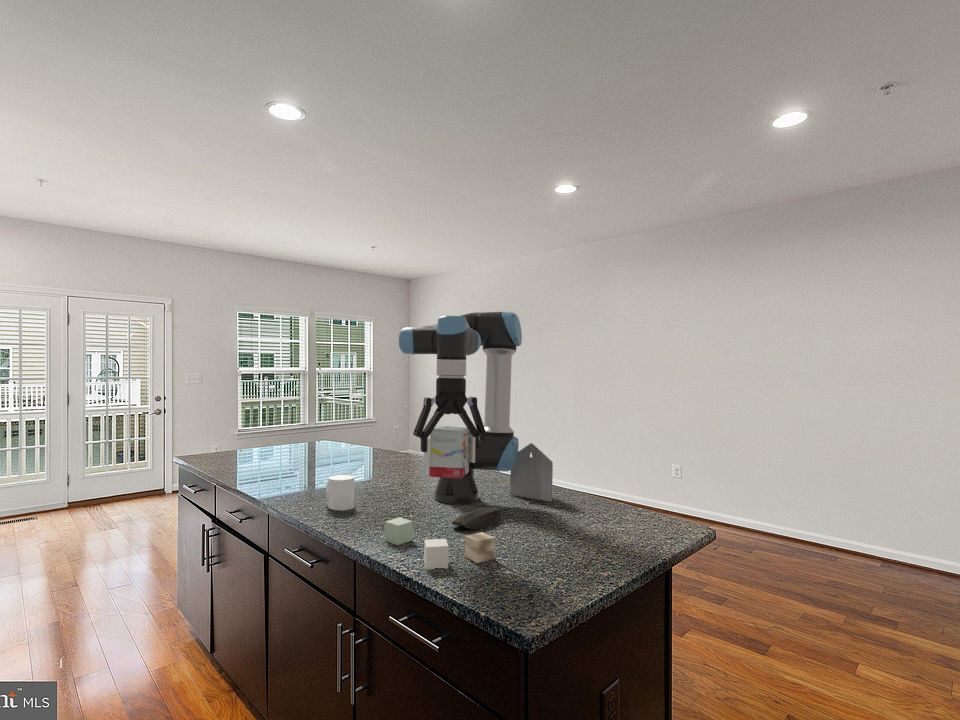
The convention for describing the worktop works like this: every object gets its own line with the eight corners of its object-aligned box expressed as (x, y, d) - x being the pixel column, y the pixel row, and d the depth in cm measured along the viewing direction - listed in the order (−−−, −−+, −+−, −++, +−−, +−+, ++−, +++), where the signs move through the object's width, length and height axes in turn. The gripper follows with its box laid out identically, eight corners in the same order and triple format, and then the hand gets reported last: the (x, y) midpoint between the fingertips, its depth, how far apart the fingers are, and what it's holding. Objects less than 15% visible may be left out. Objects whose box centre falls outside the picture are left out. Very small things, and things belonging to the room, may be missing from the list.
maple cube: (481, 552, 123) (482, 532, 124) (494, 559, 119) (494, 537, 120) (464, 556, 120) (465, 535, 121) (476, 563, 116) (477, 541, 117)
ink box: (462, 479, 123) (462, 430, 123) (428, 477, 125) (429, 428, 125) (469, 471, 131) (470, 426, 131) (438, 470, 133) (438, 424, 133)
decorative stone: (465, 534, 137) (465, 519, 138) (448, 529, 142) (449, 514, 142) (505, 521, 150) (505, 507, 150) (489, 517, 154) (489, 503, 154)
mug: (360, 477, 162) (339, 481, 156) (360, 507, 162) (338, 512, 155) (339, 472, 170) (317, 475, 163) (338, 500, 169) (317, 505, 163)
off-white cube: (445, 560, 118) (445, 538, 118) (448, 568, 113) (448, 546, 113) (423, 561, 117) (424, 539, 117) (425, 569, 112) (426, 547, 112)
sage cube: (399, 536, 134) (399, 517, 134) (412, 540, 131) (412, 521, 131) (384, 541, 130) (385, 521, 131) (397, 545, 127) (398, 525, 127)
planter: (560, 497, 179) (561, 442, 180) (551, 502, 173) (552, 445, 173) (520, 491, 188) (521, 438, 188) (509, 495, 181) (510, 441, 182)
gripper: (486, 376, 137) (485, 457, 136) (401, 376, 126) (399, 464, 126) (499, 377, 130) (498, 462, 130) (410, 377, 120) (409, 469, 119)
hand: (449, 463), depth 128 cm, fingers closed on ink box, 11 cm apart
